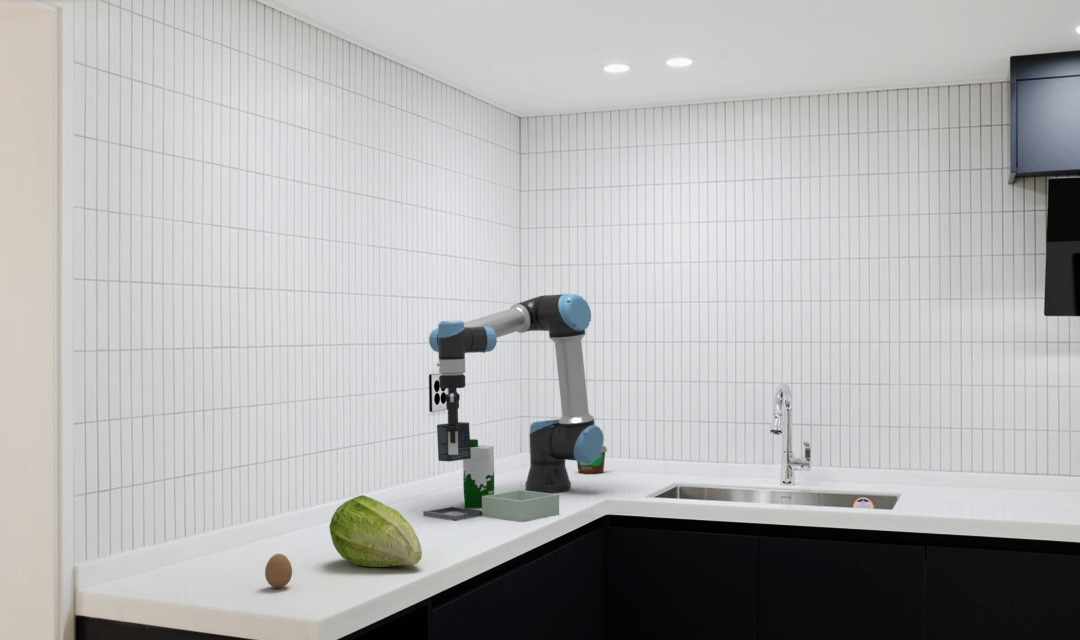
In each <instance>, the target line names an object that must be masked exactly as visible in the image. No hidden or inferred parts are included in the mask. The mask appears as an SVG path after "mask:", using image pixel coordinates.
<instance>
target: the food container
mask: <svg viewBox="0 0 1080 640" xmlns="http://www.w3.org/2000/svg"><path fill="white" fill-rule="evenodd" d="M606 452H608V449H607V447H606V445H603V447H602V450H601V451H600V453H599V455H598V456H597V457H596V458H595V459H593V460H591V461H582V462H580V461H576V463H577V472H578V474H580V475H581V474H582V475H598V474H599V475H600V474H604V473H605V472H604V470H605V459H606V457H605V456H606Z"/></svg>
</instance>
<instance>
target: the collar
mask: <svg viewBox="0 0 1080 640" xmlns="http://www.w3.org/2000/svg"><path fill="white" fill-rule="evenodd" d="M449 512H456V513H462V514H456V515H454V514H449ZM447 513H448V514H447ZM422 516H423V517H428V518H437V519H442V520H449V521H456V522H457V521H461V520H467V519H473V518H476V517H483V516H482V509H481V510H480V509H476V508H465V507H459V506H452V505H451V506H446V507H441V508H435V509H429V510H424V511H422Z"/></svg>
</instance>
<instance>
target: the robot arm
mask: <svg viewBox="0 0 1080 640" xmlns="http://www.w3.org/2000/svg"><path fill="white" fill-rule="evenodd" d="M591 319H592V312H591V307H590V305H589V303H588V301H587V300H586V299H584V297H583V296H581V295H579V294H577V293H575V294H572V293H563V294H562V293H561V294H545V295H539V296H536V297H533V298H529V299H527V300H524V301H522V302H521V301H520V302H517V303H514V304H513V305H512V306H510V307H509V309H505V310H503V311H502V310H501V311H498V312H496V313H492V314H488V315H486V316H482V317H478V318H475V319H472V320H468V321H465V322H464V321H463V320H442V321H440V322H438V327H437V328H434V329H433V330H432V331H431V332H430V334H429V336H428V337H429V338H428V342H429V346H430V348H431V349H432V351H434V352H436V353H438V363H436V366H437V367H438V373H439V374H441V375H439V377H438V383H439V384H438V385H439V386H438V387H439V388H440V389H447V391H448V393H447V394H445V402H446V410H447V423H448V429H446V432H448V455H458V431H457V422H459V408H460V398H461V396H460V393H458V391H457V390H458V389H463V388H465V387H466V375H465V374H464V373H465V372H466V357H465V355H466V354H469V353H470V354H471V353H473V354H474V353H483V354H485V353H488V352H492V351H493V350H495V348H496V346H497V342H498V341H497V338H500V337H503V336H507V335H509V334H513V333H518V334H522V333H527V332H532V331H533V332H535V331H539V332H543V331H544V332H548V337H549V339H550V340H551V341H552V342H553V343H554V348H555V349H554V350H555V358H556V367H557V377H558V385H559V386H558V387H559V396H560V407H561V417H560V418H559V419H550V420H541V421H540V420H539V421H534V422H532V423H530V426H529V435H528V436H529V457H530V458H529V459H530V464H529V465H530V466H529V470H528V474H527V476H526V477H527V478H526V480H525V491H533V492H541V493H562V492H567V491H571V490H572V482H571V480H570V477H569V474H568V470H567V467H566V461H576V462H577V461H580V462H582V461H591V460H593V459H595V458H596V457H597V456H598V455H599V453H600V451H601V450H602V447H603V446H604V439H605V437H604V433H603V430H602V429H601V428H600V427H599V426H597V425H596V424H595V417H594V416H592V414H590V411H589V404H588V393H587V392H588V391H587V385H586V375H585V365H584V364H585V363H584V354H583V353H584V352H583V345H582V340H583V338H584V337H585V336H586V329H587V328H588V327H589V326H590V323H591V321H592V320H591Z"/></svg>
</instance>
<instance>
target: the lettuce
mask: <svg viewBox="0 0 1080 640" xmlns="http://www.w3.org/2000/svg"><path fill="white" fill-rule="evenodd" d="M329 533H330V537H331V540H332V544H333V547H334V548H335V550H336V552H337V553H338V554H339V555H340V556H341V557H342V559H344V560H346V561H348V562H350V563H352V564H354V565H357V566H363V567H371V568H379V567H380V568H385V567H396V566H405V565H407V566H410V565H411V566H413V565H417V564H418V563H419V562H420V561H421V560H422V558H423V557H422V556H423V549H422V545H421V543H420V539H419V537H418V536H417V534H416V532H415V529H414V527H413V525H412V524H411V523H409V521H408V520H407V519H406V518H405V517H404V516H403V515H402V514H401V512H399V511H398V510H397V509H394V507H393V508H392V507H390V506H388V505H386V504H384V503H382V502H381V501H379V500H377V499H375V498H372V497H369V496H367V495H363V494H361V495H358V496H355V497H353V498H351V499H349V500H346V501H345V502H343V503H342V504H341V505H339V506H338V507H337V508H336V510H335V511H334V514H333V515H332V517H331V520H330V524H329Z"/></svg>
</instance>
